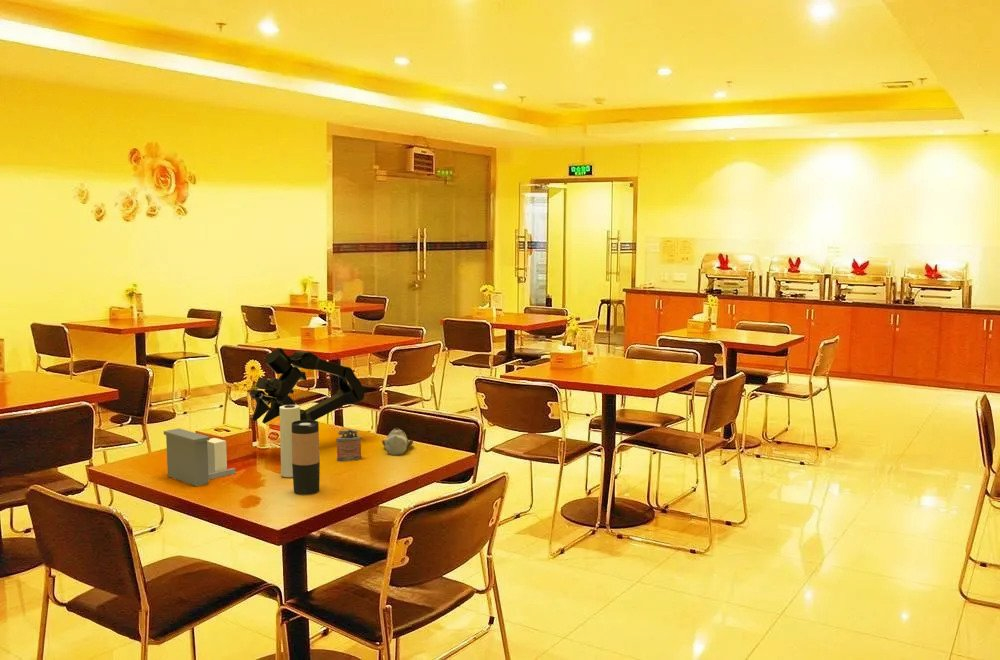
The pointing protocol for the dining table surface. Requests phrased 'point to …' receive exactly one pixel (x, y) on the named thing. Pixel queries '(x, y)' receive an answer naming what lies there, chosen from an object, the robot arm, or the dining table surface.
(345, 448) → the lighter
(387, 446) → the ceramic sculpture
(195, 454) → the grey boxy piece
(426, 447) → the dining table surface
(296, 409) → the paper towel roll
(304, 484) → the travel mug
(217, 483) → the dining table surface
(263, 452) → the dining table surface
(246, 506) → the dining table surface
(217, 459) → the cream rectangular block
